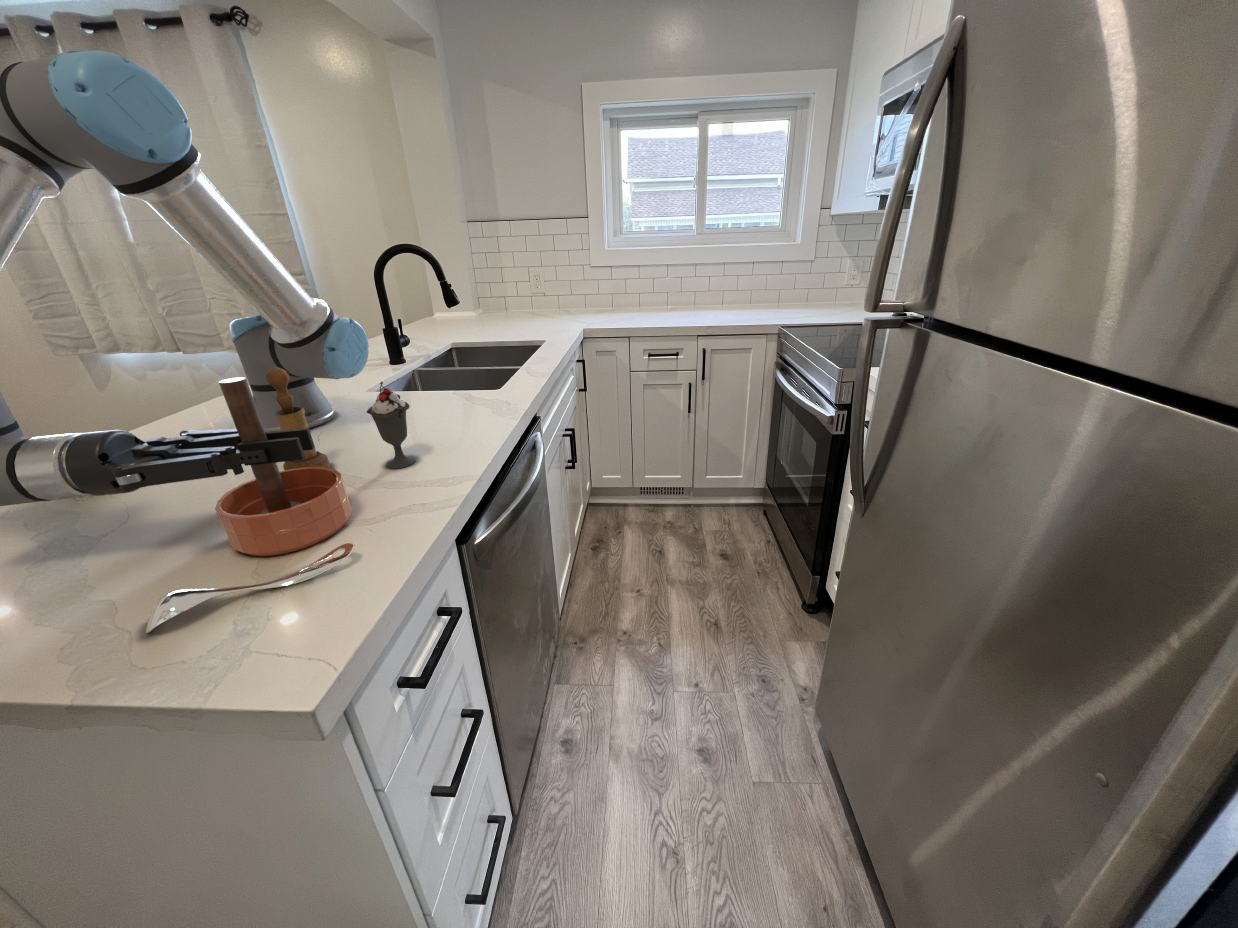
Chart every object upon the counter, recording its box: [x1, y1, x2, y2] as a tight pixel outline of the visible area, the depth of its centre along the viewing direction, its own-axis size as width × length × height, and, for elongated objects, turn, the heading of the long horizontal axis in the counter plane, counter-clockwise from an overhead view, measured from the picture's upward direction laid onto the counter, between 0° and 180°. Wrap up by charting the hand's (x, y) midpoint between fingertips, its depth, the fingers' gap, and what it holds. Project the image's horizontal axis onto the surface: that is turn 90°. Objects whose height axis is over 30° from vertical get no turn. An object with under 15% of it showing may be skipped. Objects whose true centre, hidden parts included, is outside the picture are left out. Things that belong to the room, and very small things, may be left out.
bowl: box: [214, 467, 352, 557], centre depth 67 cm, size 14×14×6 cm
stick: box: [218, 376, 301, 514], centre depth 61 cm, size 5×5×19 cm
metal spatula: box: [145, 542, 355, 634], centre depth 55 cm, size 20×4×5 cm
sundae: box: [365, 381, 417, 470], centre depth 84 cm, size 7×7×15 cm
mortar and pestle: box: [266, 368, 332, 471], centre depth 81 cm, size 7×6×18 cm
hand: (305, 443), depth 62 cm, fingers closed on stick, 3 cm apart
